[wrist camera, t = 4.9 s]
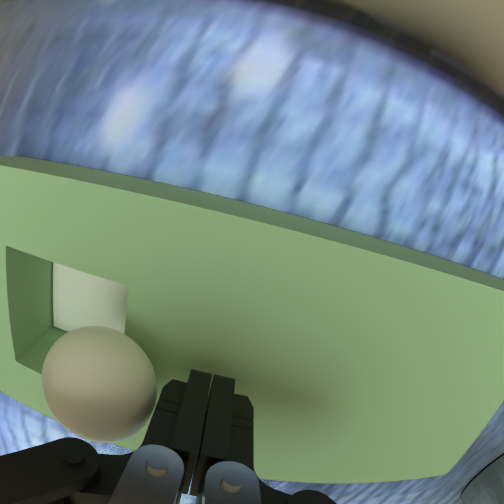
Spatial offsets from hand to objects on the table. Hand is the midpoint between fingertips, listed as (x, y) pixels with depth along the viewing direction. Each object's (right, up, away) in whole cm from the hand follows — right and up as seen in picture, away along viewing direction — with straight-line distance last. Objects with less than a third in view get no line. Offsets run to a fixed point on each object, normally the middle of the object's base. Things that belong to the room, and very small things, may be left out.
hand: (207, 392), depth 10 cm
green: (+2, +1, +5) cm, 5 cm away
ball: (-4, 0, -1) cm, 4 cm away
